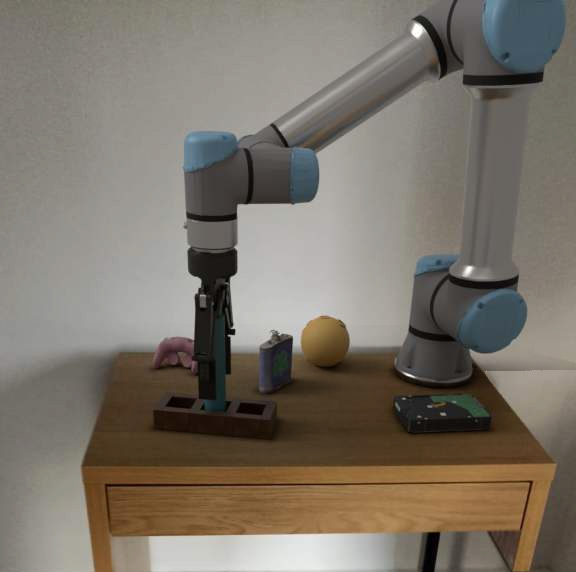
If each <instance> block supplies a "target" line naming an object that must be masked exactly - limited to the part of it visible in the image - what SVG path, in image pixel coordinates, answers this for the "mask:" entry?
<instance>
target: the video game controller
mask: <svg viewBox="0 0 576 572" xmlns="http://www.w3.org/2000/svg"><path fill="white" fill-rule="evenodd" d="M179 353H182V354H185V355H184V356H183V357H182V360H181V357H180V355H179ZM193 354H194V339H193V338H190V337H185V336H172V337H171V336H170V337H164V338H163V340H162V341H160V342H159V344H158V347H157V349H156V351H155V353H154V356H153V359H152V366H153V368H154V369H158V368H160V367H161V366H162V364H163V362H164V361H165V360H166V359H167V362H168V364H169V365H171V366H178V365H179V364H180V362H181V364H182V365H183V367H185V368H187V369H191V373H192V375H198V362H197V361H192V356H193ZM202 354H203V353H202Z"/></svg>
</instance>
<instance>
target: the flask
mask: <svg viewBox="0 0 576 572" xmlns="http://www.w3.org/2000/svg"><path fill="white" fill-rule="evenodd" d="M269 334H271V336H270V339H268V340H266V341H264V342H263V343H261V344H260V345H259V374H258V375H259V376H258V391H259V392H258V393H260V394H265V395H266V394H268V393H273V392H274V391H275V390H278V389H280V388H281V387H282V386H284V385H285V384H288V383H291V382H292V365H293V348H294V347H293V346H294V336H293V335H292V334H288V333H281V334H280V332H279V331H278V330H276V329H271V330H270V331H269Z"/></svg>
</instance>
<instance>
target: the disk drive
mask: <svg viewBox="0 0 576 572" xmlns="http://www.w3.org/2000/svg"><path fill="white" fill-rule="evenodd" d="M392 408H393V410H394V412H395V414H396V415H397V417H398V418H399V420H400V422H401V423H402V424H403V426H404V428H405V429H406V430H407V432H409V433H433V432H434V433H436V432H453V431H455V432H457V431H458V432H460V431H481V430H487V429H488V430H490V429H491V427H492V422H493V415H492V414H491V413H490V412H489V411H488V409H487V408H486V407H485V405H484V404H483V403H480V401H479V400H478V399H477V398H476V397H475V395H474V394H469V393H464V394H463V393H451V394H449V393H447V394H445V393H444V394H443V393H442V394H441V393H440V394H416V395H414V394H413V395H395V396H394V397H393V405H392Z"/></svg>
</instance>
